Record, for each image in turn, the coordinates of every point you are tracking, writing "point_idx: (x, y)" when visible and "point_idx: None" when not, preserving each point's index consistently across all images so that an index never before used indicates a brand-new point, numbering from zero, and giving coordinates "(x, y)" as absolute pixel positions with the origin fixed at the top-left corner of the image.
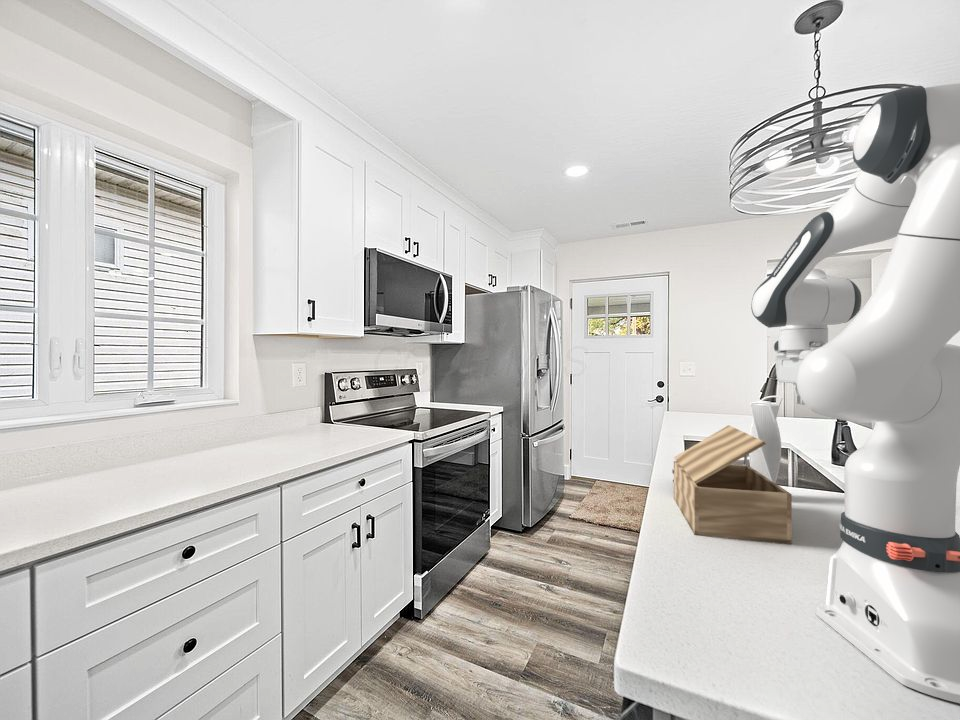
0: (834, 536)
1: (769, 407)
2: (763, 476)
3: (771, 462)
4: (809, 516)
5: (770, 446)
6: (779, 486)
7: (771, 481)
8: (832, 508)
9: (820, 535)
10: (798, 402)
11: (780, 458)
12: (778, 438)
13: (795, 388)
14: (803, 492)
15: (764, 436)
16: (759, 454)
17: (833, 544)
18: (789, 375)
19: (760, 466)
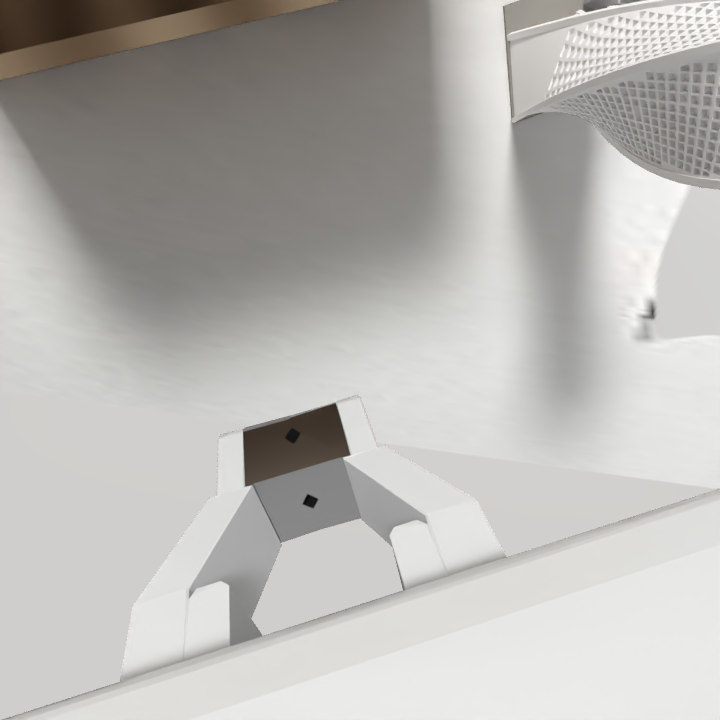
0: (189, 228)
1: None
2: (238, 14)
3: (609, 112)
4: (367, 191)
5: (663, 119)
6: (28, 70)
7: (133, 43)
8: (481, 266)
9: (171, 192)
10: (295, 416)
11: (632, 160)
12: (693, 174)
13: (426, 522)
14: (638, 214)
15: (714, 90)
16: (646, 51)
17: (102, 214)
18: (597, 716)
19: (604, 54)
